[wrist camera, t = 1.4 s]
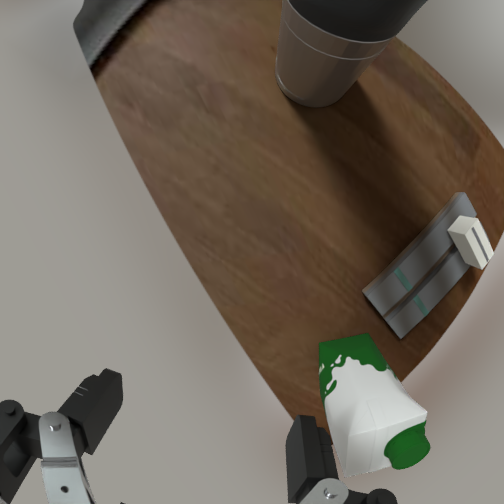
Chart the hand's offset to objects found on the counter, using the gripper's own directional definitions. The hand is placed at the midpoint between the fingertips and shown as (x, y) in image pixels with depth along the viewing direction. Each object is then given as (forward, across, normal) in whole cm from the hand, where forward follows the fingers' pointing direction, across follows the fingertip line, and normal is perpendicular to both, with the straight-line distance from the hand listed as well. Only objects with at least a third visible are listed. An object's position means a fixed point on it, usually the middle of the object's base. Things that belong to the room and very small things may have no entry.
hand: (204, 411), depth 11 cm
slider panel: (+25, -25, -5) cm, 36 cm away
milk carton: (+25, -16, +10) cm, 32 cm away
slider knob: (+24, -28, -10) cm, 38 cm away
